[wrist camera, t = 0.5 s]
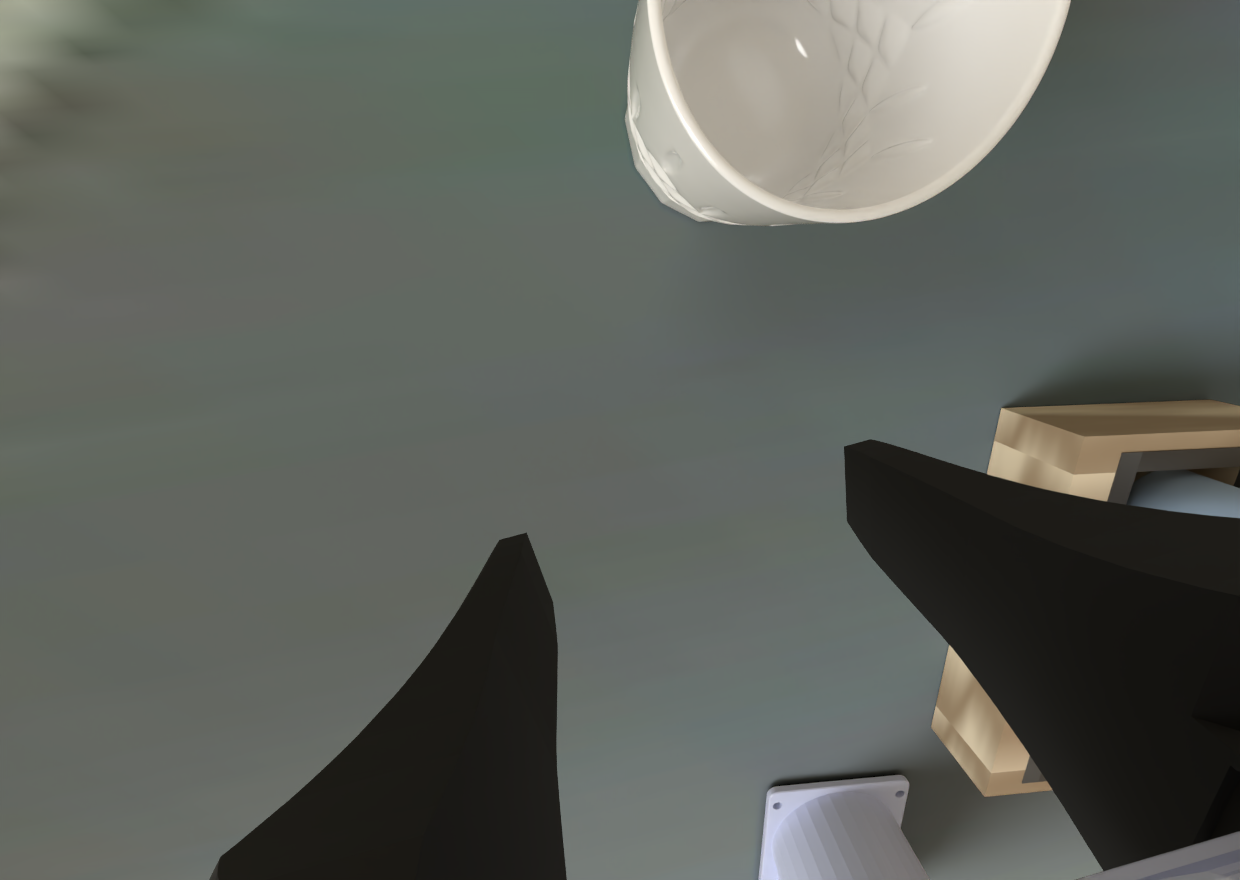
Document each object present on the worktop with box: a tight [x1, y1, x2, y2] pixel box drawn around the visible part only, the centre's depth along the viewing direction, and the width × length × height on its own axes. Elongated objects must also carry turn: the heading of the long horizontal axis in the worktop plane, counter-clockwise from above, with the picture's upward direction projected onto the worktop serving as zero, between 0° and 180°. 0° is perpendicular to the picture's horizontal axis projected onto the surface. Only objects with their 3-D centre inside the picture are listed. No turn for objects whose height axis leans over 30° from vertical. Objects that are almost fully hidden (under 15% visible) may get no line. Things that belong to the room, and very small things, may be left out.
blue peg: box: [1126, 470, 1240, 518], centre depth 20 cm, size 4×4×4 cm
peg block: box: [931, 400, 1240, 797], centre depth 25 cm, size 18×10×4 cm, turn 1°
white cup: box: [625, 0, 1071, 226], centre depth 14 cm, size 8×8×10 cm
